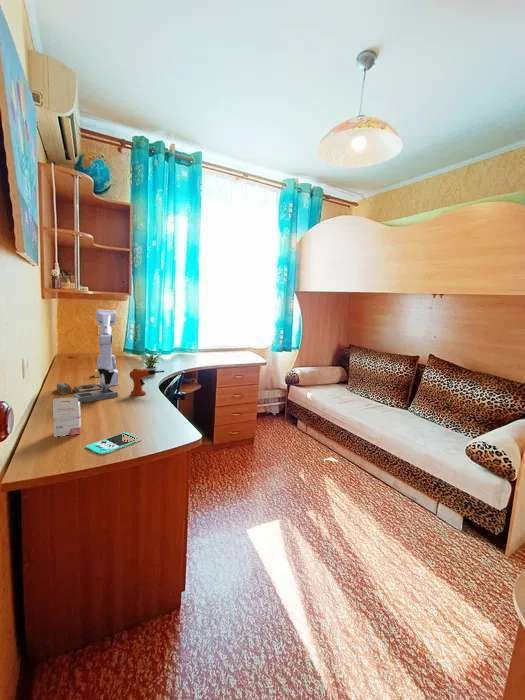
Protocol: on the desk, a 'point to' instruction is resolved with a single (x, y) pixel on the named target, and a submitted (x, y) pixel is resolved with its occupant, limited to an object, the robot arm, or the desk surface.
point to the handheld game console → (109, 443)
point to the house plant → (150, 363)
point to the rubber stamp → (97, 373)
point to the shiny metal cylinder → (104, 386)
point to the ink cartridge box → (66, 417)
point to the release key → (63, 385)
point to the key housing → (64, 389)
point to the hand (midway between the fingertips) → (106, 383)
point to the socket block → (86, 388)
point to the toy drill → (140, 380)
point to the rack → (95, 395)
